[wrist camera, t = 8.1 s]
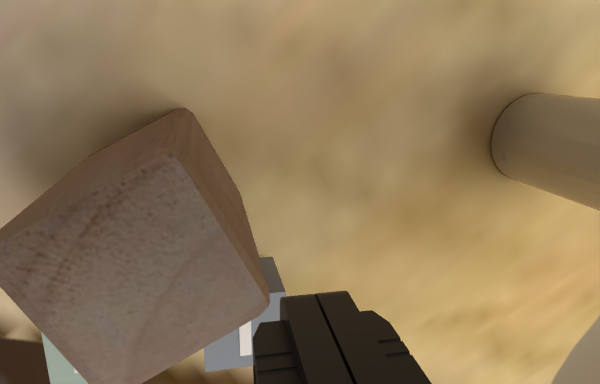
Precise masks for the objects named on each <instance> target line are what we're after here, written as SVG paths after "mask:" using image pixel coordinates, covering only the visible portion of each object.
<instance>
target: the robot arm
mask: <svg viewBox="0 0 600 384" xmlns="http://www.w3.org/2000/svg"><path fill="white" fill-rule="evenodd" d="M491 151H492V157H493V160H494V162H495V165H496V166H497V167H498V169H499V170H500V171H501V172H502V173H503V174H504V175H506V176H508V177H510V178H512V179H515V180H517V181H520V182H523V183H526V184H528V185H531V186H534V187H536V188H539V189H541V190H544V191H547V192H550V193H552V194H555V195H558V196H561V197H563V198H566V199H569V200H572V201H574V202H577V203H580V204H583V205H585V206H588V207H591V208H594V209H596V210H599V211H600V99H596V98H585V97H573V96H563V95H551V94H530V95H525V96H523V97H521V98H519V99H517V100H516V101H514V102H513V103H512V104H510V105H509V106H508V107H507V108H506V109H505V111H504V112H503V113H502V114H501V116H500V118H499V119H498V121H497V123H496V125H495V128H494V130H493V135H492V139H491ZM252 342H253V373H254V384H431V382H430V381H429V379H428V378H427V376H426V375H425V373H424V372H423V371H422V369H421V368H420V366H419V365H418V363H417V362H416V360H415V359H414V357H413V356H412V355H410V353H409V350H408V349H407V347H406V346H405V344H404V343H403V341H401V340H400V337H399V335H398V334H397V333H396V331H395V330H394V328H393V327H392V325H391V324H390V322H388V321H387V320H385V319H384V318H382V317H381V316H379V315H378V314H376V313H375V312H374V311H372V310H371V311H361V312H360V311H359V310H358V308H357V306H356V305H355V303H354V301H353V300H352V298H351V296H350V295H349V293H348V292H347V291H337V292H327V293H317V294H314V295H313V294H308V295H298V296H288V297H281V298H280V321H270V322H261V323H260V324H259V326H258V328H257V330H256V332H255V334H254V336H253V338H252Z"/></svg>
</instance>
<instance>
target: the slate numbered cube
mask: <svg viewBox="0 0 600 384" xmlns="http://www.w3.org/2000/svg"><path fill="white" fill-rule="evenodd" d="M260 261H261V265H262V268H263V271H264V274H265V278H266V281H267V284H268V287H269V295H270V303H269V307H268V308H267V309H266V310H265V311H264V312H263V313H262V314H261V315H260V316H258V317H257V318H255V319H253V320H251V321H250V322H248V323H246V324H244V325H243V326H241V327H239V328H237V329H236V330H234V331H232V332H230V333H229V334H227V335H225V336H223V337H222V338H220V339H218V340H216V341H215V342H213V343H211V344H209V345H208V346H206V347H204V357H205V372H210V371H217V370H224V369H232V368H239V367H247V366H253V342H252V338H253V336H254V334H255V332H256V330H257V328H258V326H259V324H260V323H261V322H270V321H280V298H281V297H285V296H286V292H285V289H284V286H283V284H282V281H281V278H280V276H279V273H278V270H277V268H276V265H275V262H274V259H273V257H269V258H260Z"/></svg>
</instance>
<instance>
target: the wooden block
mask: <svg viewBox="0 0 600 384" xmlns="http://www.w3.org/2000/svg"><path fill="white" fill-rule="evenodd" d="M0 287H1V288H2V289H3V290H4V291H5V292H6V293H7V295H8V296H9V297H10V298H11V299H12V300H13V301H14V302H15V303H16V304H17V306H18V307H19V308H20V309H21V310H22V311H23V312H24V313H25V314H26V315H27V316H28V318H29V319H30V320H31V321H32V322H33V323H34V324H35V325H36V326H37V327H38V329H39V330H40V331H41V332H42V333H43V334H44V335H45V336H46V337H47V338H48V340H49V341H50V342H51V343H52V344H53V345H54V346H55V347H56V348H57V349H58V351H59V352H60V353H61V354H62V355H63V356H64V357H65V358H66V359H67V360H68V362H69V363H70V364H71V365H72V366H73V367H74V368H75V369H76V370H77V371H78V373H79V374H80V375H81V376H82V377H83V378H84V379H85V380H86V381H87V382H88V384H141V383H143V382H145V381H147V380H148V379H150V378H152V377H154V376H155V375H157V374H159V373H161V372H162V371H164V370H166V369H168V368H169V367H171V366H173V365H175V364H176V363H178V362H180V361H182V360H183V359H185V358H187V357H189V356H190V355H192V354H194V353H196V352H197V351H199V350H201V349H203V348H204V347H206V346H208V345H209V344H211V343H213V342H215V341H216V340H218V339H220V338H222V337H223V336H225V335H227V334H229V333H230V332H232V331H234V330H236V329H237V328H239V327H241V326H243V325H244V324H246V323H248V322H250V321H251V320H253V319H255V318H257V317H258V316H260V315H261V314H262V313H263V312H264V311H265V310H266V309H267V308H268V307H269V303H270V295H269V287H268V284H267V281H266V278H265V274H264V271H263V268H262V265H261V261H260V258H259V255H258V251H257V248H256V245H255V242H254V238H253V235H252V232H251V228H250V225H249V222H248V219H247V215H246V212H245V209H244V205H243V202H242V199H241V196H240V192H239V191H238V189H237V187H236V185H235V184H234V182H233V180H232V179H231V177H230V175H229V174H228V172H227V170H226V168H225V167H224V165H223V163H222V162H221V160H220V158H219V157H218V155H217V153H216V151H215V150H214V148H213V146H212V145H211V143H210V141H209V140H208V138H207V136H206V134H205V133H204V131H203V129H202V128H201V126H200V124H199V123H198V121H197V119H196V117H195V116H194V114H193V113H191V112H190V111H189V110H188V109H186V108H185V109H176V110H174V111H173V112H171V113H169V114H167V115H165V116H163V117H161V118H159V119H158V120H156V121H154V122H152V123H150V124H148V125H146V126H144V127H143V128H141V129H139V130H137V131H135V132H133V133H131V134H129V135H128V136H126V137H124V138H122V139H120V140H118V141H116V142H114V143H113V144H111V145H109V146H107V147H105V148H103V149H101V150H99V151H97V152H96V153H94V154H92V155H90V156H89V157H88V158H87V159H85V160H84V161H83V162H82V163H81V164H79V165H78V166H77V167H76V168H75V169H73V170H72V171H71V172H70V173H68V174H67V175H66V176H65V177H64V178H62V179H61V180H60V181H59V182H57V183H56V184H55V185H54V186H53V187H51V188H50V189H49V190H48V191H46V192H45V193H44V194H43V195H42V196H40V197H39V198H38V199H37V200H35V201H34V202H33V203H32V204H31V205H29V206H28V207H27V208H26V209H24V210H23V211H22V212H21V213H20V214H18V215H17V216H16V217H15V218H13V219H12V220H11V221H10V222H9V223H7V224H6V225H5V226H4V227H3V228H1V229H0Z"/></svg>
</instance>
